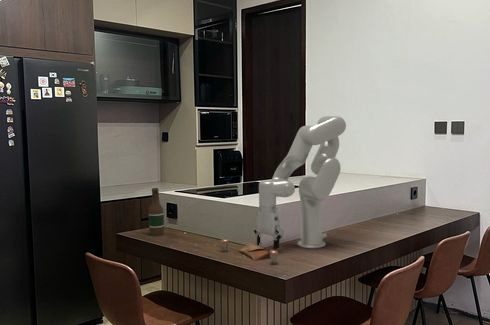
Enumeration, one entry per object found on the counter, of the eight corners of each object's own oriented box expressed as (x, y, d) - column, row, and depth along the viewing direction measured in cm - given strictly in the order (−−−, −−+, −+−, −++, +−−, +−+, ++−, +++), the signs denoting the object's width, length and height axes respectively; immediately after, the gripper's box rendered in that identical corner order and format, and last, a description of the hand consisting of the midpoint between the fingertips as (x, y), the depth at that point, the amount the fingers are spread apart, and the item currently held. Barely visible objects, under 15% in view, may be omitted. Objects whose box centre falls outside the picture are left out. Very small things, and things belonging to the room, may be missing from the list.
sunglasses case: (235, 251, 213) (241, 237, 214) (247, 256, 216) (253, 243, 217) (255, 261, 197) (262, 246, 198) (267, 267, 200) (274, 252, 201)
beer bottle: (146, 234, 247) (144, 188, 245) (159, 231, 252) (157, 186, 250) (154, 237, 241) (152, 189, 239) (167, 234, 247) (165, 188, 244)
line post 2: (273, 261, 196) (273, 249, 196) (279, 263, 194) (279, 250, 193) (268, 263, 194) (268, 251, 193) (274, 265, 192) (274, 252, 191)
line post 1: (225, 249, 215) (224, 238, 215) (230, 251, 213) (229, 239, 213) (220, 251, 213) (219, 240, 212) (225, 252, 211) (224, 241, 210)
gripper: (288, 209, 208) (288, 248, 210) (258, 205, 220) (259, 241, 222) (277, 212, 203) (277, 252, 204) (247, 207, 214) (248, 245, 216)
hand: (268, 246), depth 213 cm, fingers open, 9 cm apart
